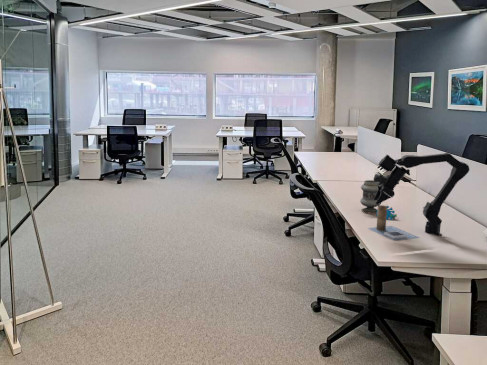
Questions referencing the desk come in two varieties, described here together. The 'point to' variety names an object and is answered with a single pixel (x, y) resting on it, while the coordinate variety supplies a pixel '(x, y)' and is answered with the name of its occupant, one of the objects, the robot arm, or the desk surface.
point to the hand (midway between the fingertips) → (375, 201)
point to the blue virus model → (389, 214)
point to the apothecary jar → (369, 196)
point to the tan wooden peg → (381, 217)
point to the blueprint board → (391, 228)
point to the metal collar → (390, 234)
